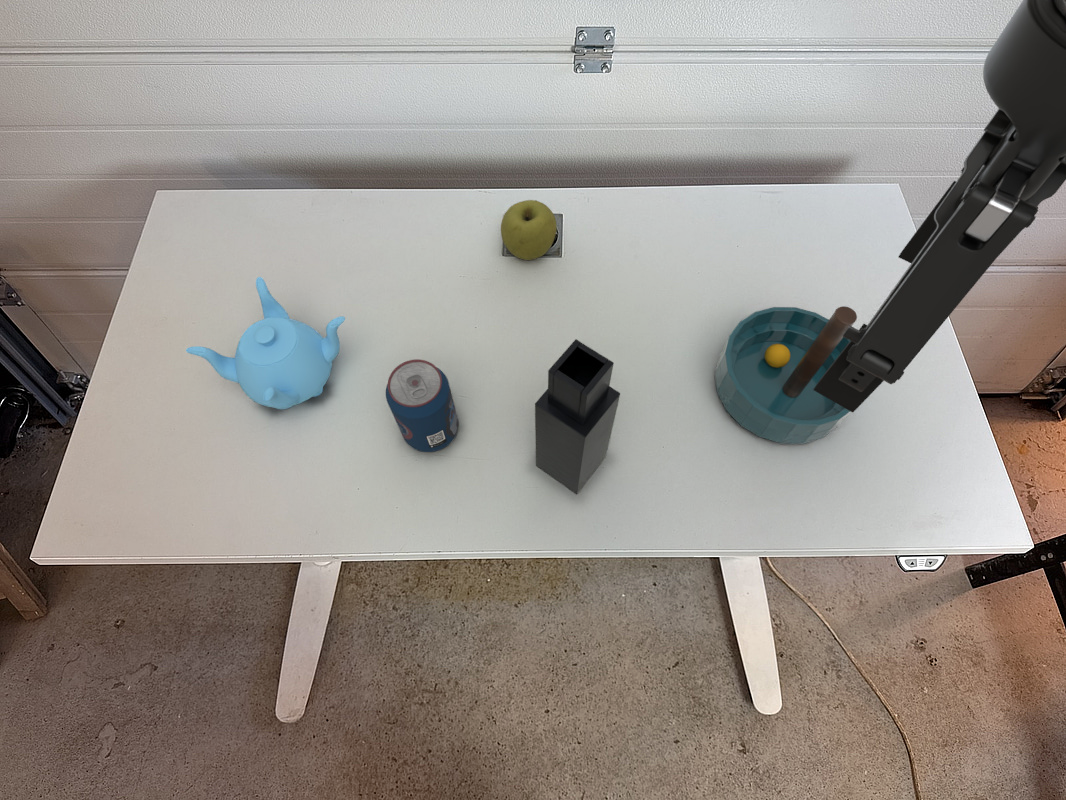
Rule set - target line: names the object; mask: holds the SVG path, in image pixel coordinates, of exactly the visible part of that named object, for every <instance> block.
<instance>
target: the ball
mask: <svg viewBox="0 0 1066 800" xmlns="http://www.w3.org/2000/svg"><path fill="white" fill-rule="evenodd" d="M765 360H766V362H767V363H768V364H769V365H770V366H772V367H775V368H779V367H783V366H785V365H786V364H787V363H788V362H789V360H790V351H789V349H788V348H787V347H786V346H784V345H782V344H773V345H771V346H770V347H768V348H767V350H766V352H765Z"/></svg>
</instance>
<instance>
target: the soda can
mask: <svg viewBox="0 0 1066 800" xmlns="http://www.w3.org/2000/svg"><path fill="white" fill-rule="evenodd" d="M385 400H386V403H387V405H388V408H389V409H390V412H391V413H392V416H393V418H394V421H395V423H396V424H397V425H396V426H397V427H398V429H399V431H400V433H401V437H402V438H403V440H404V441H405V443H406V444H407V445H408V446H410V447H411V448H412V449H414V450H415V451H418V452H421V453H422V452H423V453H433V452H437V451H441V450H443V449H445V448H446V447H448V446H449V445H450V444H451V443H452V442H453V441H454V439H455V438H456V436H457V435H458V431H459V426H460V421H459V416H458V413H457V408H456V406H455V405H456V404H455V401H454V398H453V393H452V390H451V386H450V382H449V380H448V377H447V376H446V374H445V373H444V371H443V370H442V369H440V368H439V367H437V366H436V365H435V364H434V363H432V362H430V361H428V360H425V359H419V358H418V359H417V358H416V359H415V358H414V359H409V360H405V361H404V362H402V363H400V364H398V365H397V366H396V367H395V368H394V369H393V370H392V371H391V373H390V374H389V377H388V379H387V384H386V387H385Z"/></svg>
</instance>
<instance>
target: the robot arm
mask: <svg viewBox="0 0 1066 800" xmlns="http://www.w3.org/2000/svg"><path fill="white" fill-rule="evenodd" d="M1007 22H1008V23H1007V24H1006V26H1005V27H1004V28H1003V30H1002V31H1001V33H1000V34H999V35H998V37H997V39H996V41H995V42H994V44H993V45H992V47H991V48H990V50H989V51H988V54H987V55H986V57H985V60H984V63H983V69H982V76H983V77H982V78H983V83H984V87H985V89H986V92H987V94H988V95H989V97H990V99H991V100H992V102H993V103H994V105H995V106H996V107H997V110H996V111H995V113H994V114H993V116H992V117H991V118H990V120H989V122H988V123H987V124H986V126H985V127H984V129H983V131H984V132H983V133H982V134H981V136H980V137H979V139H978V140H977V142H976V143H975V144H974V146H973V147H972V149H971V150H970V152H969V153H968V154H967V156H966V157H965V159H964V162H963V167H962V169H961V170H960V175H959V177H958V178H957V180H953V181H952V183H951V184H950V185H949V187H948V188H947V190H946V191H945V193H943V195H942V197H940V199H939V200H938V201H937V203H936V204H935V205H934V207H933V209H932V210H931V211H930V213H929V214H928V215H927V217H926V218H925V219H924V220H923V222H922V224H920V226H919V228H918V229H917V230H916V231H915V233H914V234H913V235H912V237H911V238H910V239H909V241H907V244H906V245H905V246H904V247H903V249H902V250H901V252H900V253H899V255H898V256H897V257H898V258H899V259H901V260H903V261H905V262H907V263H909V266H908V268H907V269H906V270H905V272H904V273H903V275H902V276H900V277H901V278H900V279H899V280H898V282H897V283H896V284H895V286H894V287H893V288H892V290H891V291H890V293H889V294H888V295H887V297H886V299H884V301H883V302H882V303H881V306H880V307H879V308H878V309H877V311H876V312H875V314H873V316H872V318H871V319H870V321H869V322H868V323H867V324H866V323H863V324H862V325H861V326H860V328H859V329H858V328H855V327H853V325H852V326H850V325H849V327H848V328H847V330H846V331H845V333H844V334H843V337H844V338H846V339H848V340H850V342H849V343H848V344H847V346H846V347H845V348H844V350H843V351H842V352H841V353H840V355H839V356H838V357H837V358H836V360H835V361H834V362H833V364H832V365H831V366H830V367H829V369H828V370H827V371H826V373H825V374H824V375H823V376H822V378H821V379H820V380H819V381H818V383H817V385H816V386H815V388H814V389H813V390H814V391H816V392H818V393H819V394H821V395H823V396H825V397H826V398H828V399H830V400H832V401H833V402H835V403H837V404H839V405H840V406H842V407H844V408H846V409H847V410H849V411H851V413H855V411H857V409H859V407H860V406H861V405H862V404H863V403H864V402H865V401H866V400H867V399H868V398H869V397H870V396H871V395H872V394H873V393H874V392H875V391H876V390H877V389H878V388H879V387H880V385H882V384H883V383H884V382H885V383H887V384H888V385H893V384H895V383H896V382H897V381H899V380H900V379H902V377H903V376H904V374H905V370H906V369H907V368H908V366H909V365H910V364H911V363H912V361H913V360H914V359H915V358H916V356H918V354H919V353H920V352H921V351H922V349H923V348H924V347H925V346H926V345H927V343H928V342H929V341H930V339H931V338H932V337H933V336H934V335H935V334H936V332H937V331H938V330H939V329H940V327H941V326H942V325H943V324H944V323H945V321H946V320H947V319H948V318H949V316H951V314H952V313H953V312H954V311H955V309H956V308H957V307H958V306H959V305H960V303H961V302H962V301H963V300H964V298H966V296H967V295H968V293H970V291H971V290H972V289H973V287H974V286H975V285H976V284H977V283H978V281H980V279H981V277H983V275H984V274H985V273H986V272H987V271H988V269H989V268H990V267H991V266H992V264H993V263H994V262H995V261H996V259H997V258H999V256H1000V255H1001V254H1002V253H1003V252H1004V251H1005V250H1006V248H1007V247H1009V245H1010V244H1011V243H1012V242H1013V241H1014V240H1015V239H1016V238H1017V237H1018V236H1019V235H1020V233H1021V232H1022V231H1023V230H1024V229H1025V228H1026V229H1028V228H1029V227H1030V226H1031V225H1032V224H1033V222H1034V221H1035V220H1036V218H1037V216H1036V215H1037V213H1038V212H1039V205H1041V203H1042V202H1043V201H1045V200H1047V199H1050V198H1052V197H1053V196H1054V195H1055V194H1057V192H1058V191H1059V189H1060V188H1061V187H1062V186H1063V185H1064V183H1065V182H1066V0H1022V1H1021V2H1020V3H1019V6H1018V7H1017V9H1016V10H1015V12H1014V13H1013V14H1012V16H1011V17H1010V19H1009V21H1007Z"/></svg>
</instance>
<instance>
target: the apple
mask: <svg viewBox="0 0 1066 800" xmlns="http://www.w3.org/2000/svg"><path fill="white" fill-rule="evenodd" d="M557 224H558V223H557V220H556V217H555V214H554V213H553V212H552V210H551V208H550V207H549V206H547V205H546V204H545V203H544V202H541V201H539V200H534V199H528V200H522V201H519V202H516V203H514V204H513V205H512V204H511V206H510V207H508V209H506V211H505V213H504V215H503V216H502V219H501V224H500V234H501V239H502V242H503V244H504V246H505V248H506V249H507V250H508V251H509V252H510V254H512V255H513V256H514V257H515V258H518V259H520V260H524V261H531V260H536V259H539V258H541V257H543V256H544V255H545V254H546V253H547V252H548V251H549V250H550V248H551V247H552V245H553V243H554V241H555V238H556V235H557V230H558V227H557Z"/></svg>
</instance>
